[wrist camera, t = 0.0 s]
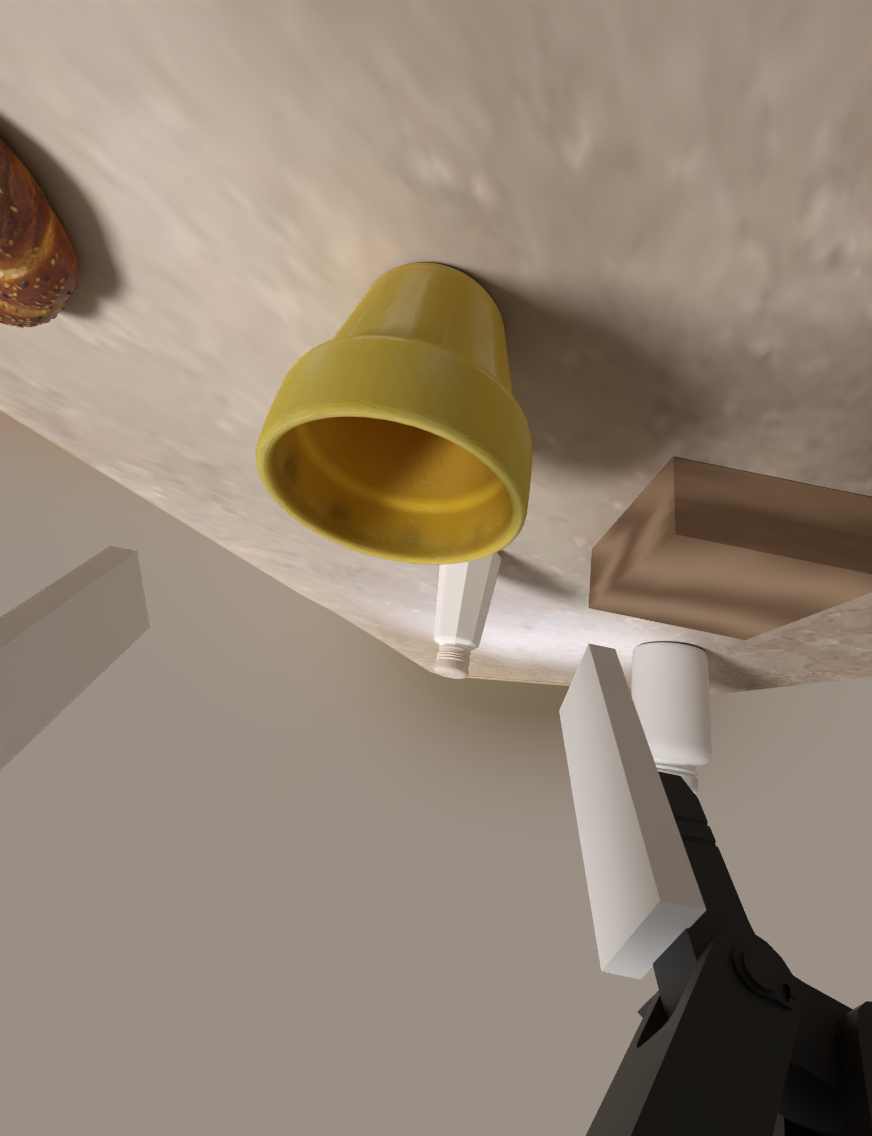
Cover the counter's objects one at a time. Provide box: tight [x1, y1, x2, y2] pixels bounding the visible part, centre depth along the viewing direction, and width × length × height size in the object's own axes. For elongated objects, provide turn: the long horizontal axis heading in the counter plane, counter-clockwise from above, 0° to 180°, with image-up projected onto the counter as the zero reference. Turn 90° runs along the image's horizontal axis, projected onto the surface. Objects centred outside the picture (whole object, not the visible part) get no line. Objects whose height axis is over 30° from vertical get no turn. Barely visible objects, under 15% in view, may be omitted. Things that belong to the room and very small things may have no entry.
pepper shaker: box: [434, 552, 502, 679], centre depth 40 cm, size 5×5×11 cm
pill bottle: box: [632, 642, 712, 793], centre depth 53 cm, size 8×8×15 cm
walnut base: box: [589, 457, 872, 640], centre depth 31 cm, size 12×12×5 cm
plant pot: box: [256, 262, 532, 565], centre depth 20 cm, size 10×10×10 cm
